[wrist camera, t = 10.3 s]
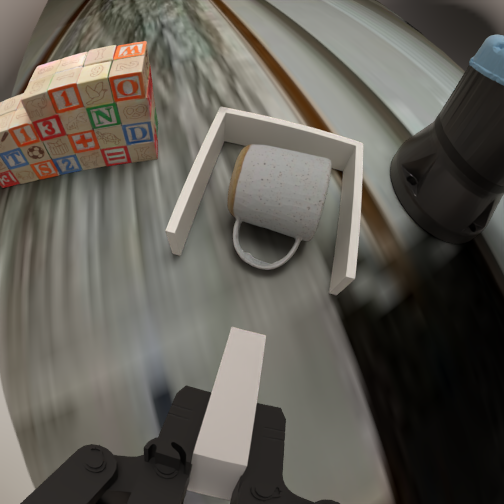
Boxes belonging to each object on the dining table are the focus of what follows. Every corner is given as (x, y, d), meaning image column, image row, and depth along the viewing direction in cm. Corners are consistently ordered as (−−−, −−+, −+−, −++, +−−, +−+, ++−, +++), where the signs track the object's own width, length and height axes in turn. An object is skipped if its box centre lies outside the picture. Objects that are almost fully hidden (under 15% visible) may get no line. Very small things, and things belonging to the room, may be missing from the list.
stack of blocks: (2, 190, 31) (-45, 126, 19) (13, 153, 33) (-24, 89, 22) (159, 159, 34) (142, 69, 23) (159, 122, 36) (147, 38, 25)
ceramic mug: (243, 172, 34) (248, 120, 27) (317, 191, 34) (338, 144, 27) (213, 261, 30) (210, 220, 23) (299, 284, 29) (323, 251, 22)
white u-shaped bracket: (336, 295, 29) (355, 278, 25) (172, 253, 29) (165, 230, 25) (349, 168, 36) (363, 143, 32) (219, 135, 36) (220, 106, 32)
